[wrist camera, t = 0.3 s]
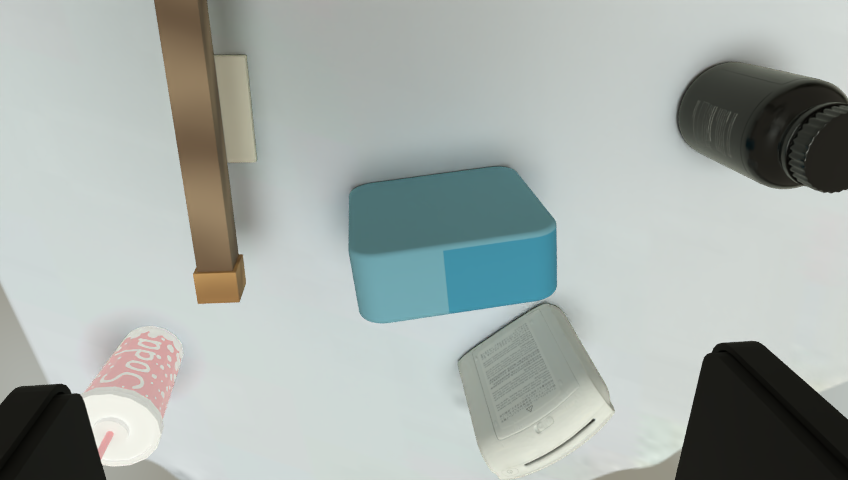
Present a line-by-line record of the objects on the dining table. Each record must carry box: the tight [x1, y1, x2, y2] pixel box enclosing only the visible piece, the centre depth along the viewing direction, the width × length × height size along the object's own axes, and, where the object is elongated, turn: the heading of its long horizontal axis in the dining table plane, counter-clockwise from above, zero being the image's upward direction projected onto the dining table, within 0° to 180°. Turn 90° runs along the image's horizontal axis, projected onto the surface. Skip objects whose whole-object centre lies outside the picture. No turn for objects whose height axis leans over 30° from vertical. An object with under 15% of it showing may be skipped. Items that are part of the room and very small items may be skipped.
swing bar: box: [154, 0, 246, 304], centre depth 32 cm, size 21×4×2 cm, turn 179°
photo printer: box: [458, 303, 615, 480], centre depth 44 cm, size 10×4×12 cm, turn 127°
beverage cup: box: [80, 326, 184, 466], centre depth 40 cm, size 6×6×14 cm
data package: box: [349, 167, 557, 323], centre depth 38 cm, size 12×4×12 cm, turn 96°
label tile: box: [214, 55, 257, 163], centre depth 39 cm, size 7×5×1 cm
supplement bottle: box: [678, 62, 848, 193], centre depth 38 cm, size 7×7×12 cm
